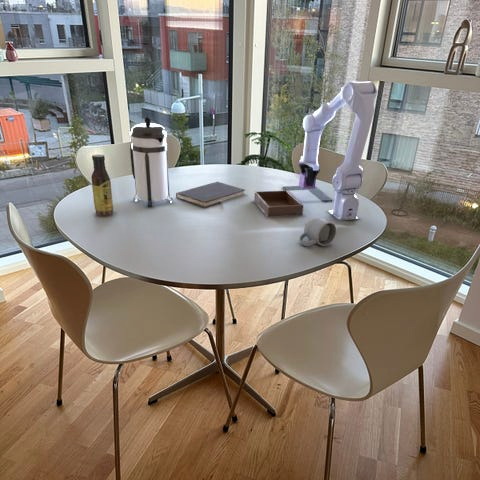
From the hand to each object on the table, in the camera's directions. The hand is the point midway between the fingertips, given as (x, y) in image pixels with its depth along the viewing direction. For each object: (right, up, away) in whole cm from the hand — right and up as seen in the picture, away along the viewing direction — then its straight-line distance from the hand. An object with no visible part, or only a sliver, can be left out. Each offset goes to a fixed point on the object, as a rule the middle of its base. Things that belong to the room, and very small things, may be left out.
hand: (307, 184), depth 184 cm
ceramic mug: (-3, -30, -37) cm, 47 cm away
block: (0, -1, +1) cm, 1 cm away
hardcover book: (-38, -5, -1) cm, 39 cm away
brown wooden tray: (-13, -13, -10) cm, 21 cm away
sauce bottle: (-75, -17, -21) cm, 80 cm away
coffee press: (-61, -9, -8) cm, 62 cm away
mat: (+1, -2, +7) cm, 7 cm away
